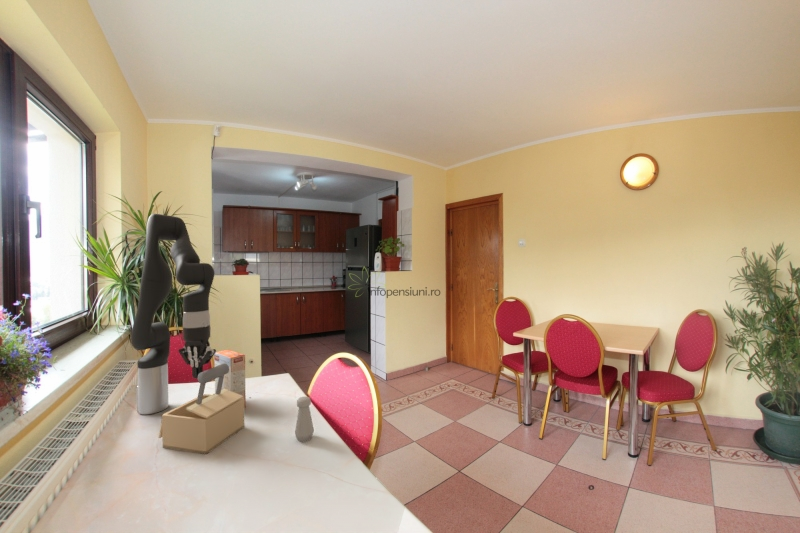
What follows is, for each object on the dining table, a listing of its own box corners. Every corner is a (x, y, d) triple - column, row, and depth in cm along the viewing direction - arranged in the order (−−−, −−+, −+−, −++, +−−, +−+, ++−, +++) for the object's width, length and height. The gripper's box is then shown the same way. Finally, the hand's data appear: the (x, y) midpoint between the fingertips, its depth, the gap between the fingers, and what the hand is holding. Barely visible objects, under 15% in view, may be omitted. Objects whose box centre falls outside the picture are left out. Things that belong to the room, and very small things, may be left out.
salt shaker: (317, 435, 105) (316, 395, 104) (306, 444, 99) (306, 403, 99) (302, 432, 106) (301, 393, 106) (291, 441, 101) (290, 400, 101)
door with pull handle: (183, 408, 97) (190, 374, 96) (221, 389, 112) (228, 359, 111) (206, 418, 95) (214, 383, 94) (242, 397, 110) (249, 367, 109)
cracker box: (246, 407, 125) (245, 354, 125) (230, 413, 120) (229, 358, 120) (230, 398, 134) (229, 348, 133) (214, 403, 129) (213, 351, 128)
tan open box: (156, 446, 99) (156, 414, 99) (200, 421, 115) (199, 393, 114) (206, 454, 95) (205, 420, 95) (244, 426, 110) (243, 397, 110)
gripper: (169, 326, 102) (170, 380, 103) (204, 327, 99) (205, 383, 100) (189, 321, 110) (191, 372, 110) (222, 323, 107) (223, 375, 107)
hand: (197, 377), depth 105 cm, fingers closed
